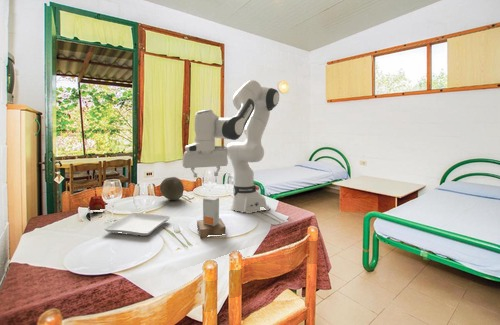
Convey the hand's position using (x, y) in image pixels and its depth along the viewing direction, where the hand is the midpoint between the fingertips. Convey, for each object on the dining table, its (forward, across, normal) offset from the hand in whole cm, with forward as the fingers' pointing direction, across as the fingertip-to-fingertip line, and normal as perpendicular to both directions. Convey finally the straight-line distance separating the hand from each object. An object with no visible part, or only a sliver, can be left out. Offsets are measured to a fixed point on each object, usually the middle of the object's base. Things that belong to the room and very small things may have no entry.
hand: (205, 176), depth 118 cm
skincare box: (+21, -1, +6) cm, 22 cm away
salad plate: (+25, +30, -9) cm, 40 cm away
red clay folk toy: (+24, +53, -39) cm, 70 cm away
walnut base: (+25, -1, +6) cm, 25 cm away
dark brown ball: (+25, +13, -51) cm, 58 cm away
